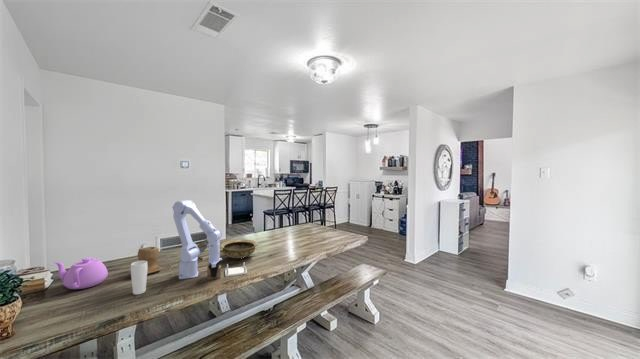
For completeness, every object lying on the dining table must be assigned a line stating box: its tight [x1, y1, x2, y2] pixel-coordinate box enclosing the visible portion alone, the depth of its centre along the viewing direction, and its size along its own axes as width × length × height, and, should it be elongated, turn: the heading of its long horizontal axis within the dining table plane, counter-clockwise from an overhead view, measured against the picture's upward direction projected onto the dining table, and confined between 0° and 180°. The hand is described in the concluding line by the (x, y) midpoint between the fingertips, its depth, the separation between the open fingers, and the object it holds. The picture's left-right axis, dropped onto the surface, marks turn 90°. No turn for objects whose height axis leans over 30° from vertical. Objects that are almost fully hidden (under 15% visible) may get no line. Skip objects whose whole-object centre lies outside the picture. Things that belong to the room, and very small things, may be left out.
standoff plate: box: [224, 261, 248, 278], centre depth 149 cm, size 12×10×4 cm
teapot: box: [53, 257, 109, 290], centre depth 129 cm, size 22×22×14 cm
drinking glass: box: [130, 260, 148, 296], centre depth 122 cm, size 7×7×15 cm
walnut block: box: [206, 264, 222, 281], centre depth 141 cm, size 7×4×6 cm, turn 111°
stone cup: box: [137, 246, 163, 275], centre depth 145 cm, size 15×12×15 cm
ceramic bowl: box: [220, 239, 259, 260], centre depth 173 cm, size 30×24×10 cm
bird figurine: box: [197, 238, 209, 261], centre depth 166 cm, size 13×10×20 cm
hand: (214, 275), depth 141 cm, fingers closed on walnut block, 4 cm apart
